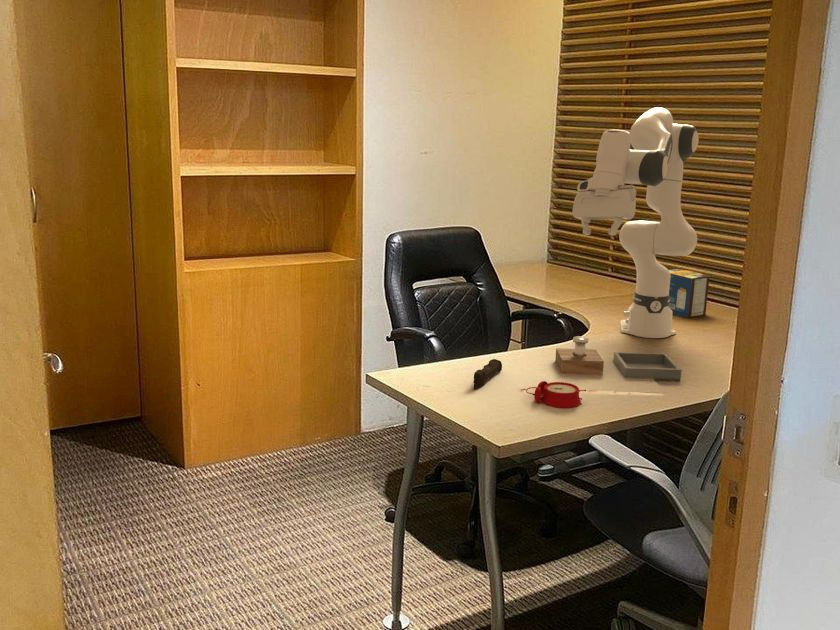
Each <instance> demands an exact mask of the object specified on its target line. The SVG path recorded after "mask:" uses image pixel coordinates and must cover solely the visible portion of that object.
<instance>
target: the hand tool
mask: <svg viewBox="0 0 840 630" xmlns="http://www.w3.org/2000/svg"><path fill="white" fill-rule="evenodd" d="M502 368H503V364H502V361H501V360H498V359H495V358H493V359H491V360H489V361H488V363H487V364H485V365H483V367H482V369H477V370H476V371H475V372H474V374H473V382H472V383H473V390H478V389H480V388H482V387H484V386H485V385H486V382H487V381H488V380H490V379H491V378H492V377H493V376H495V374H497V373H500V372H502V370H503V369H502Z"/></svg>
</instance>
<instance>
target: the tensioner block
mask: <svg viewBox="0 0 840 630" xmlns="http://www.w3.org/2000/svg"><path fill="white" fill-rule="evenodd" d="M574 352H575V348H567V347H566V348H561V347H560V348H558V347H557V348H556V349H555V364H556V365H557V367H558V370H559V371H560V373H561V374H568V375H569V374H571V375H572V374H573V375H575V374H577V375H603V374H604V364H605V362H604V359H603V358H602V356H601V355H600V353H599V352H598V350H597V349H596V348H585V356H584V357H583V356H574Z"/></svg>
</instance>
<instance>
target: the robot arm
mask: <svg viewBox="0 0 840 630" xmlns="http://www.w3.org/2000/svg"><path fill="white" fill-rule="evenodd" d="M699 138H700V137H699V132H698V130H697V128H696V126H694V125H690V124H686V123H685V124H680V123H679V124H678V123H674V117H673V115H672V113H671V112H670V111H669V110H668V109H666V108H664V107H658V106H657V107H653V108H651V109H649V110H647V111H645V112H644V113H643V114H642V115H640V116H639V117H638V118H637V119H636V121H634V123H633V124H632V125H631V127H630V129H629V131H628V130H624V129H606V130H605V131H604V132H603V133H602V135H601V138H600V141H599V144H598V148H597V153H596V158H595V159H596V160H595V162H596V167H595V169H594V171H593V176H591V177H589V178H587V179H586V180H583V181H582V182H581V181H580V183H578V184H577V186H576V187H577V189H576V190H577V191H578V192H577V193H576V195H575V197H574V199H573V200H574V201H573V205H572V212H571V213H572V216H573V218H575V219H577V220H581V221H580V223H581V225H582V234H583V235H585V236H590V235H592V228H590V225H589V224H591V220H594V221H595V220H596V221H597V220H612V221H613V224H612V226H611V227H609V228H608V232H607V233H608V235H609V236H617V232H618V229H619V228H620V227H621V226H622V227H621V228H620V231H619V235H618V236H619V237H618V238H619V239H618V240H619V242H620V245H621V247H622V248H623V249H624V250H625V251H626V252H627V253H628V254H629V255H630V257H631V258H632V260H633V262H634V265H635V266H634V267H635V269H636V284H635V285H636V286H635V291H634V294H633V299H632V301H633V302H632V303H631V305H630V306H629V307H628V308H627V310H623V314H622V315H623V316H622V317H623V318H626V319H621V320H620V323H619V324H620V332H621V333H622V334H623V333H624V334H629V335H633V336H636V337H639V338H648V339H662V338H663V339H664V338H668V337H669V336H673V335H676V333H677V331H676V330H674V329H673V328H672V327H673V314H672V310H671V309H670V308H669V307H668V306H669V302H670V295H669V288H670V278H671V275H670V272H669V270H670V269H668V268H667V267H665V265H663V264H662V263H660V262H659V261H658V260H657V257H656V255H660V256H670V257H683V256H689V255H690V254H692V253H693V252H694V251H695V249H696V246H697V244H698V235H697V232H696V230H695V229H694V228H693V227H692V225H690V224H689V222H688V221H687V220H686V218H685V217H684V215H683V212H682V205H681V201H682V200H681V198H682V197H681V196H682V195H681V194H682V186H683V179H684V178H683V177H684V162H686V161H687V159H689V158H691V157H692V156H694V154H695V153H696V151H697V148H698V145H699V140H700V139H699ZM626 184H628V185H626ZM634 185H644V186H646V196H645V201H646V204H647V206H648V207H649V208H650V209H652V210H653V211H655V212H656V213H658V214H659V215H660V218H661V219H660V221H655V220H654V221H653V220H641V219H640V220H632V219H634V217H635V215H636V206H637V205H636V204H637V198H636V196H637V188H636V187H635V186H634ZM623 220H631V221H626V222H625V223H624V224H623ZM622 224H623V225H622Z"/></svg>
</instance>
